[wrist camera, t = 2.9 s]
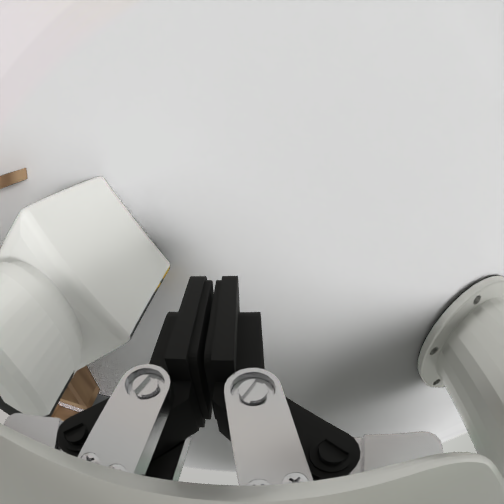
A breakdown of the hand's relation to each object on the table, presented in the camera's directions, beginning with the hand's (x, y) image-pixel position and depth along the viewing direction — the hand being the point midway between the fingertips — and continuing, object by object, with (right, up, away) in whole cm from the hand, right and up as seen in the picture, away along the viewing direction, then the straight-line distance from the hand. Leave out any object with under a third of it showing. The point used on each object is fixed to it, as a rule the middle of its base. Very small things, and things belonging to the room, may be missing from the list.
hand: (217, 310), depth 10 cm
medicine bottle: (-8, +2, +6) cm, 11 cm away
